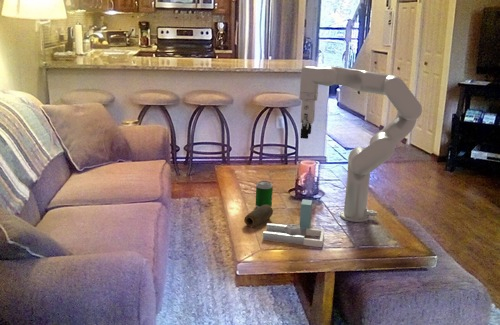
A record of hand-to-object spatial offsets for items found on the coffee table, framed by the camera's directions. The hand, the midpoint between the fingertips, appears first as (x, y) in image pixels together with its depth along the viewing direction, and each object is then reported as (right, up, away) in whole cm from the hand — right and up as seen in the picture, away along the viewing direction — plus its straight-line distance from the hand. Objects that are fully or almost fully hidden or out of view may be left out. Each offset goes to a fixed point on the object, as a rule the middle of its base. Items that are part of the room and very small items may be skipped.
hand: (305, 135), depth 218 cm
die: (-7, -42, -17) cm, 45 cm away
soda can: (-18, -32, +15) cm, 40 cm away
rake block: (-1, -39, -8) cm, 40 cm away
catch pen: (+1, -42, -19) cm, 46 cm away
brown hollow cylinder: (-20, -37, -3) cm, 42 cm away
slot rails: (-10, -41, -16) cm, 45 cm away
